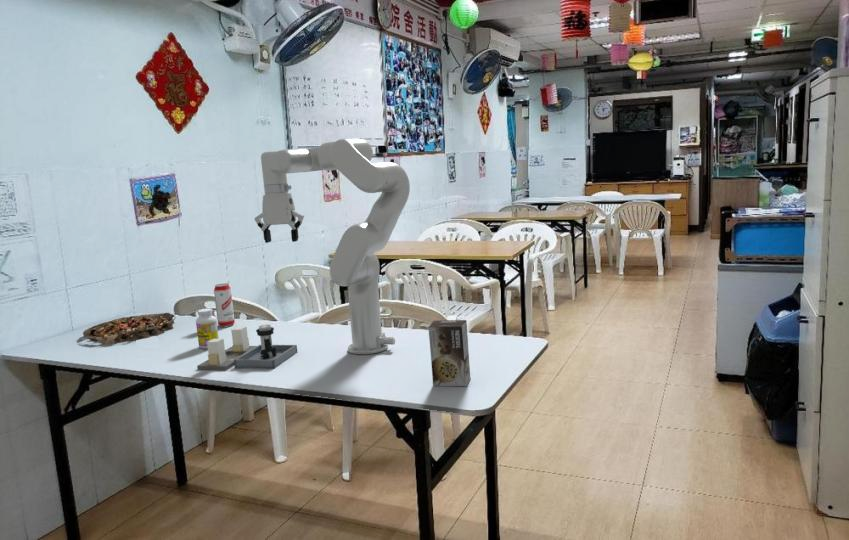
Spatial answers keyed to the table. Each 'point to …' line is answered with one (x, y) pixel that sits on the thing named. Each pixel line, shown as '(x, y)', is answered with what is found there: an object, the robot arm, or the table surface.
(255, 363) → the tray
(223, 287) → the beer can
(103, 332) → the food dish
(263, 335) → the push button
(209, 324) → the supplement bottle
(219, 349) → the block
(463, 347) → the printed cardboard box
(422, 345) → the table surface
